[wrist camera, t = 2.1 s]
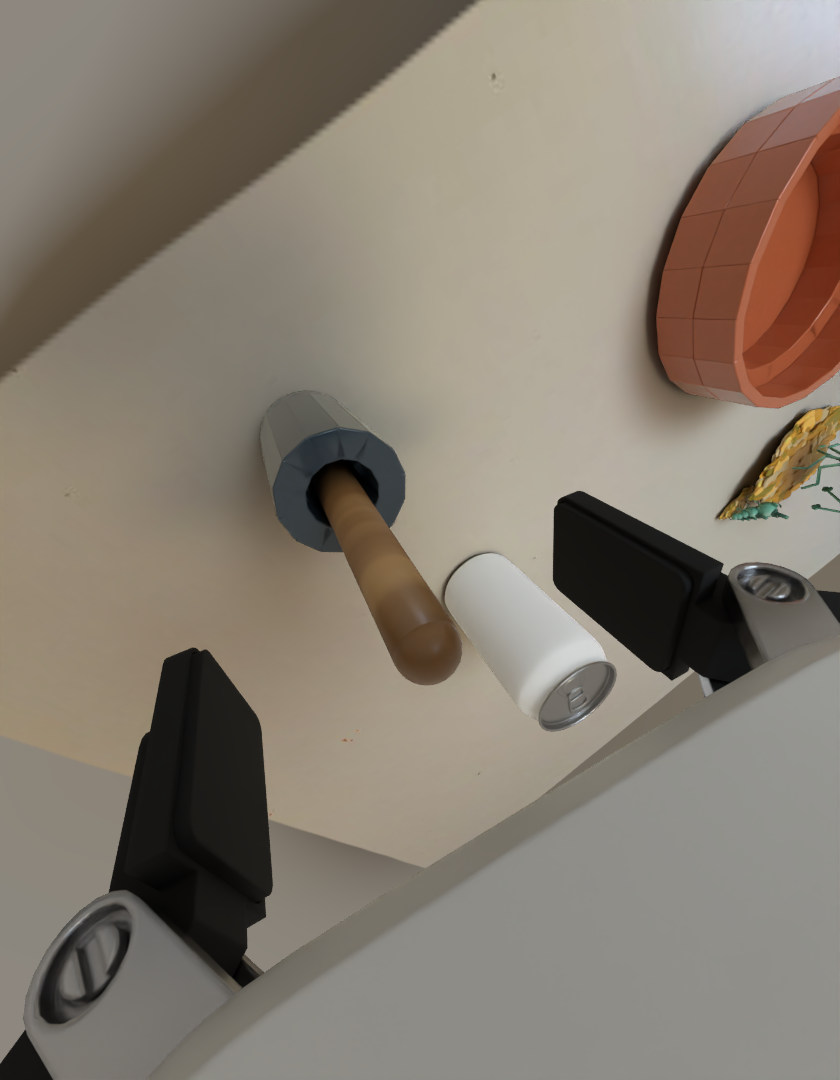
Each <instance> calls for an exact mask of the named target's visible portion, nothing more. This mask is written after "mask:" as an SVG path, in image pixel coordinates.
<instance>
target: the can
mask: <svg viewBox="0 0 840 1080" xmlns="http://www.w3.org/2000/svg"><path fill="white" fill-rule="evenodd" d="M445 603H446V606H447V608H448V610H449V612H450V613H451V615H452V616H453V617H454V619H455V620H456V622H457V623H458V624H459V626H460V627H461V629H462V630H463V632H464V633H465V634H466V636H467V637H468V639H469V640H470V641H471V643H472V644H473V645H474V647H475V648H476V650H477V651H478V652H479V654H480V655H481V657H482V658H483V659H484V661H485V662H486V664H487V665H488V666H489V668H490V669H491V671H492V672H493V673H494V675H495V676H496V677H497V679H498V680H499V682H500V683H501V684H502V686H503V687H504V688H505V690H506V691H507V693H508V694H509V695H510V697H511V698H512V699H513V701H514V702H515V703H516V705H517V706H518V707H519V708H520V709H521V711H522V712H524V713H525V714H526V715H528V716H530V717H532V718H534V719H535V720H537V721H539V724H540V726H541V727H542V728H543V729H544V730H546V731H551V732H554V731H560V730H564V729H566V728H569V727H571V726H573V725H575V724H577V723H578V722H580V721H582V720H583V719H585V718H586V717H587V716H589V715H590V714H591V713H592V712H593V711H594V710H596V709H597V708H598V707H599V706H600V705H601V703H602V702H603V701H604V700H605V699H606V697H607V696H608V695H609V693H610V692H611V690H612V688H613V686H614V684H615V681H616V675H617V673H616V669H615V667H614V666H613V665H612V664H611V663H609V662H608V661H607V659H606V656H605V654H604V651H603V649H602V647H601V645H600V644H599V643H598V642H597V641H596V640H595V639H594V638H593V637H592V636H591V635H590V634H589V633H588V632H587V631H586V630H585V629H584V628H583V627H582V626H581V625H579V624H578V623H577V622H576V621H575V620H574V619H573V618H572V617H571V616H570V615H569V614H567V613H566V612H565V611H564V610H563V609H562V608H561V607H560V606H559V605H558V604H557V603H555V602H554V601H553V600H552V599H551V598H550V597H549V596H548V595H547V594H546V593H545V592H543V591H542V590H541V589H540V588H539V587H538V586H537V585H536V584H535V583H534V582H532V581H531V580H530V579H529V578H528V577H527V576H526V575H525V574H524V573H522V572H521V571H520V570H519V569H518V568H517V567H516V566H515V565H514V564H512V563H511V562H510V561H509V560H508V559H507V558H505V557H504V556H502V555H499V554H495V553H488V554H482V555H478V556H474V557H472V558H470V559H469V560H467V561H466V562H464V563H463V564H462V565H461V566H460V567H459V568H458V569H457V570H456V571H455V572H454V573H453V575H452V576H451V578H450V580H449V582H448V584H447V587H446V591H445Z"/></svg>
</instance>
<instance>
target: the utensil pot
mask: <svg viewBox="0 0 840 1080" xmlns="http://www.w3.org/2000/svg"><path fill="white" fill-rule="evenodd" d="M260 444H261V449H262V455H263V460H264V464H265V468H266V473H267V477H268V482H269V486H270V490H271V495H272V499H273V503H274V508H275V512H276V516H277V517H278V520H279V521H280V523H281V524H282V525H283V526H284V528H285V529H286V530H287V531H288V533H289V534H290V535H291V536H292V537H293V538H294V539H295V540H296V541H298V542H300V543H302V544H304V545H307V546H309V547H311V548H313V549H315V550H318V551H321V552H343V550H342V548H341V546H340V544H339V541H338V539H337V537H336V535H335V533H334V530H333V528H332V526H331V524H330V522H329V519H328V517H327V515H326V513H325V511H324V509H323V506H322V504H321V502H320V500H319V498H318V495H317V493H316V491H315V489H314V487H313V484H312V482H311V478H312V476H313V475H314V474H315V473H317V472H318V471H319V470H320V469H321V468H322V467H323V466H324V465H325V464H329V463H332V462H335V461H338V460H344V461H345V463H346V464H347V466H348V467H349V469H350V470H351V472H352V473H353V475H354V476H355V478H356V479H357V481H358V482H359V484H360V485H361V487H362V488H363V490H364V491H365V493H366V494H367V496H368V497H369V499H370V500H371V502H372V503H373V505H374V506H375V507H376V509H377V510H378V512H379V513H380V515H381V516H382V518H383V519H384V521H385V522H386V524H387V525H388V527H389V528H390V527H391V526H392V525H393V523H394V522H395V520H396V518H397V515H398V513H399V511H400V509H401V507H402V505H403V503H404V500H405V471H404V469H403V467H402V465H401V463H400V461H399V459H398V457H397V455H396V453H395V451H394V450H393V448H392V447H391V446H390V445H388V444H387V443H386V442H385V441H384V440H383V439H382V438H380V437H379V436H378V435H377V434H376V433H375V432H374V431H372V430H371V429H370V428H369V427H368V426H367V425H366V424H364V423H363V422H362V421H361V420H360V419H359V418H358V417H356V416H355V415H354V414H353V413H352V412H351V411H350V410H348V409H347V408H346V407H344V406H343V405H342V404H340V403H339V402H338V401H337V400H335V399H334V398H332V397H330V396H328V395H326V394H323V393H321V392H316V391H298V392H293V393H290V394H287V395H285V396H284V397H282V398H280V399H279V400H277V401H276V402H275V403H274V404H273V405H272V406H271V407H270V408H269V410H268V411H267V413H266V414H265V416H264V418H263V421H262V424H261V428H260Z"/></svg>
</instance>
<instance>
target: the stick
mask: <svg viewBox="0 0 840 1080" xmlns="http://www.w3.org/2000/svg"><path fill="white" fill-rule="evenodd" d="M311 482H312V484H313V487H314V489H315V491H316V493H317V495H318V498H319V500H320V502H321V504H322V506H323V509H324V511H325V513H326V515H327V517H328V519H329V522H330V524H331V526H332V528H333V530H334V533H335V535H336V537H337V539H338V541H339V544H340V546H341V548H342V550H343V552H344V555H345V557H346V559H347V561H348V563H349V566H350V568H351V570H352V572H353V574H354V577H355V579H356V581H357V583H358V585H359V587H360V590H361V592H362V594H363V596H364V598H365V601H366V603H367V605H368V607H369V609H370V612H371V614H372V616H373V618H374V620H375V623H376V625H377V627H378V629H379V631H380V634H381V636H382V638H383V640H384V642H385V645H386V647H387V649H388V651H389V653H390V655H391V658H392V660H393V662H394V664H395V666H396V668H397V669H398V671H399V672H400V673H401V674H402V675H403V676H404V677H405V678H406V679H408V680H409V681H411V682H413V683H416V684H420V685H434V684H438V683H440V682H442V681H444V680H446V679H447V678H449V677H450V676H451V675H452V674H453V673H454V671H455V670H456V668H457V667H458V665H459V663H460V659H461V655H462V642H461V638H460V634H459V632H458V630H457V629H456V627H455V625H454V624H453V622H452V621H451V619H450V618H449V616H448V615H447V613H446V612H445V610H444V609H443V607H442V606H441V604H440V603H439V601H438V600H437V598H436V597H435V596H434V594H433V593H432V591H431V590H430V588H429V587H428V585H427V584H426V582H425V581H424V579H423V578H422V576H421V575H420V573H419V572H418V570H417V569H416V567H415V566H414V564H413V563H412V561H411V560H410V558H409V557H408V555H407V554H406V552H405V551H404V549H403V548H402V546H401V545H400V543H399V542H398V540H397V539H396V537H395V536H394V534H393V533H392V531H391V530H390V528H389V527H388V525H387V524H386V522H385V521H384V519H383V518H382V516H381V515H380V513H379V512H378V510H377V509H376V507H375V506H374V505H373V503H372V502H371V500H370V499H369V497H368V496H367V494H366V493H365V491H364V490H363V488H362V487H361V485H360V484H359V482H358V481H357V479H356V478H355V476H354V475H353V473H352V472H351V470H350V469H349V467H348V466H347V464H346V463H345V461H344V460H338V461H335V462H332V463H329V464H325V465H324V466H323V467H322V468H321V469H320V470H319V471H318V472H317V473H315V474H314V475H313V476H312V478H311Z"/></svg>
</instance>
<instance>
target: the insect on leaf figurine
mask: <svg viewBox="0 0 840 1080" xmlns="http://www.w3.org/2000/svg"><path fill="white" fill-rule="evenodd" d="M838 430H840V406H834V407H832V406H828V407H826V408H825V409H820V408H818V409H815V410H810V411H808V412H807V413H806V414H805V415H804V416H803V417H802V418H801V419H800V420H798V421H797V422H796V423H795V425H794V427H793V429H792V430H791V431H789V432H788V433H787V434H786V435H785V437H784V438H783V439H782V441H781V444H780V446H779V447H778V448H777V450H776V453H775V454H774V455H773V456H772V460H771V461H772V463H771V464H769V465H768V466H766V467H765V469H764V471H763V472H762V473H761V474H760V479H759V480H758V481H757V482H756V486H750V487H749V488H747V487H746V488H744V489H743V490H742V493H741V494H740V496H739V497H738V498H736V499H735V500H733V501H731V503H730V504H729V505H728V506H727V507H726V508H725V509H724V511H723V513H722V514H721V516H720V517H719V520H720V519H723V520H724V519H725V518H726V519H727V518H729V519H730V517H732V519H733V520H742V521H744V519H745V520H748V521H749V519H750V518H751V519H754V520H757V518H760V517H761V518H763V519H766V520H767V519H768V518H767V517H771V516H772V517H777V516H778V517H782V518H785V519H788V516H786V515H784V514H781V513H779V512H778V509H777V507H778V506H780V508H781V505H780V504H779V502H780V501H781V500H784V499H787V498H788V497H789V496H790V495H791V492H793V491H795V490H797V489H798V488H799V487H800V485H801V484H803V483H804V482H805V481H807V480H808V479H809V478H810V476H811V475H813V474H815V472H816V469H817V468H818V473H817V480H816V484H812V485H808V486H804V487H801V489H806V488H809V487H812V486H816V485H818V484H819V482H820V474H821V468H827V467H834V466H840V463H838V464H831V465H825V466H820V463H821V462H822V461H823V460H824V458H826V457H828V458H833V459H836V460H839V461H840V457H835V456H833V455H831V454H828V453H827V450H828V448H830V449H831V450H833V451H834V452H836V453H838V454H840V452H839V451H837V450H836V449H834V448H832V447H835V446H838V445H840V444H834V445H831V446H830V442H829V441H832V440H833V439H835V437H836V435H835V434H836V432H837V431H838ZM755 487H757V488H756V489H755ZM831 490H833V488H832V487H823V488H822V491H825V492H826V491H827V492H828V493H829V494H830V495H831V496H833V497H834V498H835V499H836V500H837V501H838V502H839V503H840V499H838V498H837V497H836V496H835V495H834V494H833V493H831V492H830V491H831ZM752 493H753V494H752ZM751 494H752V495H751ZM748 498H749V499H748ZM747 499H748V500H749V501H752V500H753V501H754V502H756V501H758V500H760V504H759V501H758V506H756V507H749V508H748V507H747V508H746V509H743V508H744V506H745V505H746V503H747V501H748V500H747ZM756 503H757V502H756ZM747 504H748V503H747ZM748 506H749V505H748ZM812 509H814V510H817V509H823V510H828V511H833V512H839V513H840V511H838V510H832V509H827V508H821V506H820V505H819V504H816V505H812ZM732 519H730V520H732Z"/></svg>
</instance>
